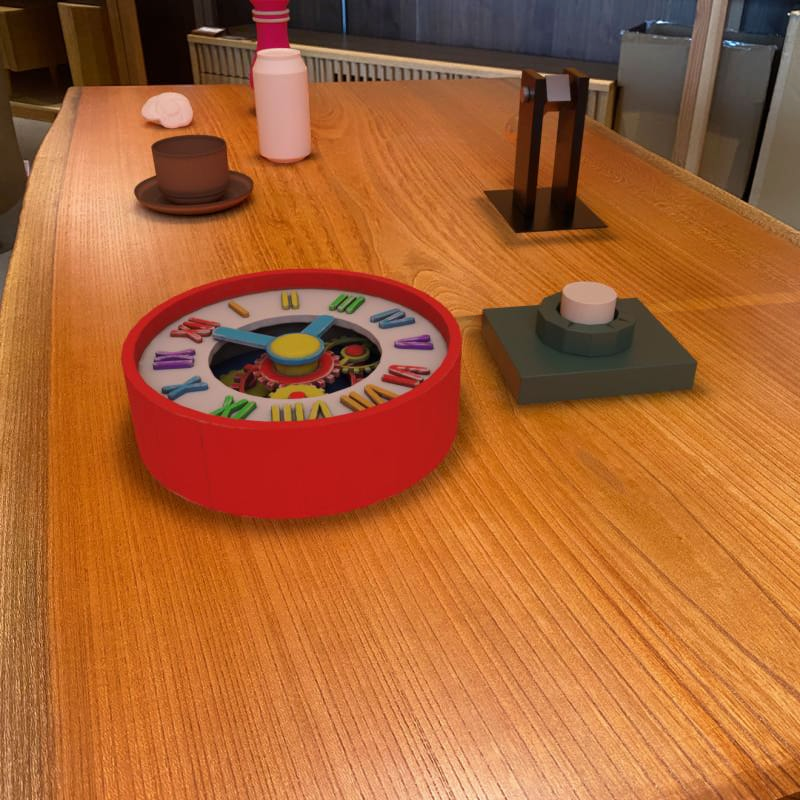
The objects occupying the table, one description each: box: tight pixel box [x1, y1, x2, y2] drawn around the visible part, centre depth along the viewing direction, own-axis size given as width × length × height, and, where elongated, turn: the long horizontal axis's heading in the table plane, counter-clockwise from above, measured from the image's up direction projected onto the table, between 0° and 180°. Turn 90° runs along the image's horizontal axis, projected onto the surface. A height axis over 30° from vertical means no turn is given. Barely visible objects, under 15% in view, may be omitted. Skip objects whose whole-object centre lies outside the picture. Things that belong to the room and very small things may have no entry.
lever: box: [504, 74, 571, 147], centre depth 82 cm, size 13×4×4 cm
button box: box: [480, 290, 699, 406], centre depth 58 cm, size 12×10×4 cm
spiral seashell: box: [139, 91, 194, 130], centre depth 113 cm, size 7×5×4 cm
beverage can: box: [252, 48, 312, 164], centre depth 98 cm, size 6×6×12 cm
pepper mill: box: [249, 0, 292, 91], centre depth 115 cm, size 7×7×20 cm
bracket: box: [483, 67, 609, 234], centre depth 80 cm, size 12×9×14 cm
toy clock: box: [120, 267, 463, 520], centre depth 52 cm, size 20×6×20 cm
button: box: [560, 280, 618, 325], centre depth 57 cm, size 4×4×2 cm
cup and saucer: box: [133, 134, 254, 216], centre depth 85 cm, size 12×12×6 cm
